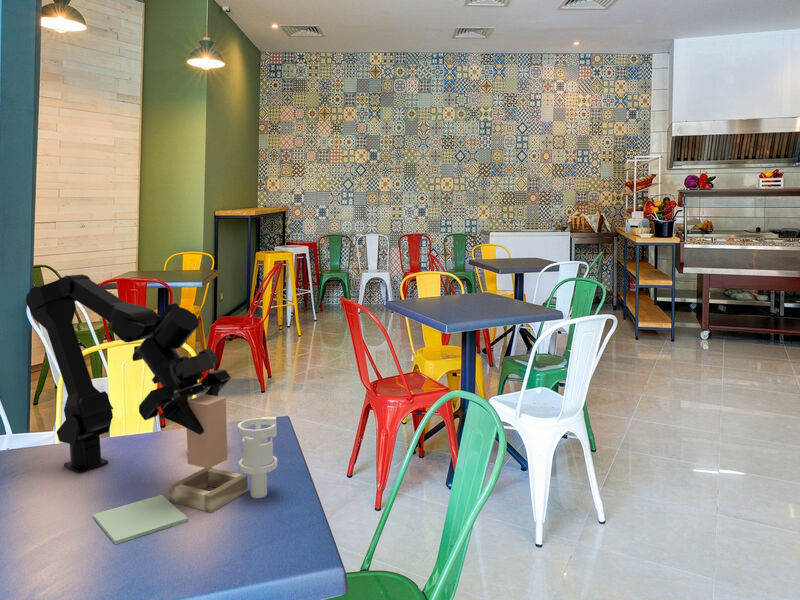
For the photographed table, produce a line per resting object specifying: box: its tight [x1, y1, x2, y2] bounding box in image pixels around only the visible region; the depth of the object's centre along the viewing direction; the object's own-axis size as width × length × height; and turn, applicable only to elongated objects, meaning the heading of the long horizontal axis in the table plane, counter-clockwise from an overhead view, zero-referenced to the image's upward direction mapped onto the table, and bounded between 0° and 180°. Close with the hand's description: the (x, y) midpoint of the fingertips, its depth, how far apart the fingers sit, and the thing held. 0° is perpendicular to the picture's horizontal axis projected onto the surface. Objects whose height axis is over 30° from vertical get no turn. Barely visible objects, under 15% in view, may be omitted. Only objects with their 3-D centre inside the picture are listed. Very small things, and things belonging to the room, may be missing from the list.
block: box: [186, 394, 228, 469], centre depth 117 cm, size 5×5×12 cm
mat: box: [92, 494, 189, 545], centre depth 109 cm, size 12×12×1 cm
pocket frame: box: [168, 467, 249, 513], centre depth 118 cm, size 10×10×3 cm
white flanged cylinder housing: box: [237, 416, 278, 499], centre depth 118 cm, size 7×7×15 cm
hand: (212, 428), depth 116 cm, fingers closed on block, 5 cm apart
